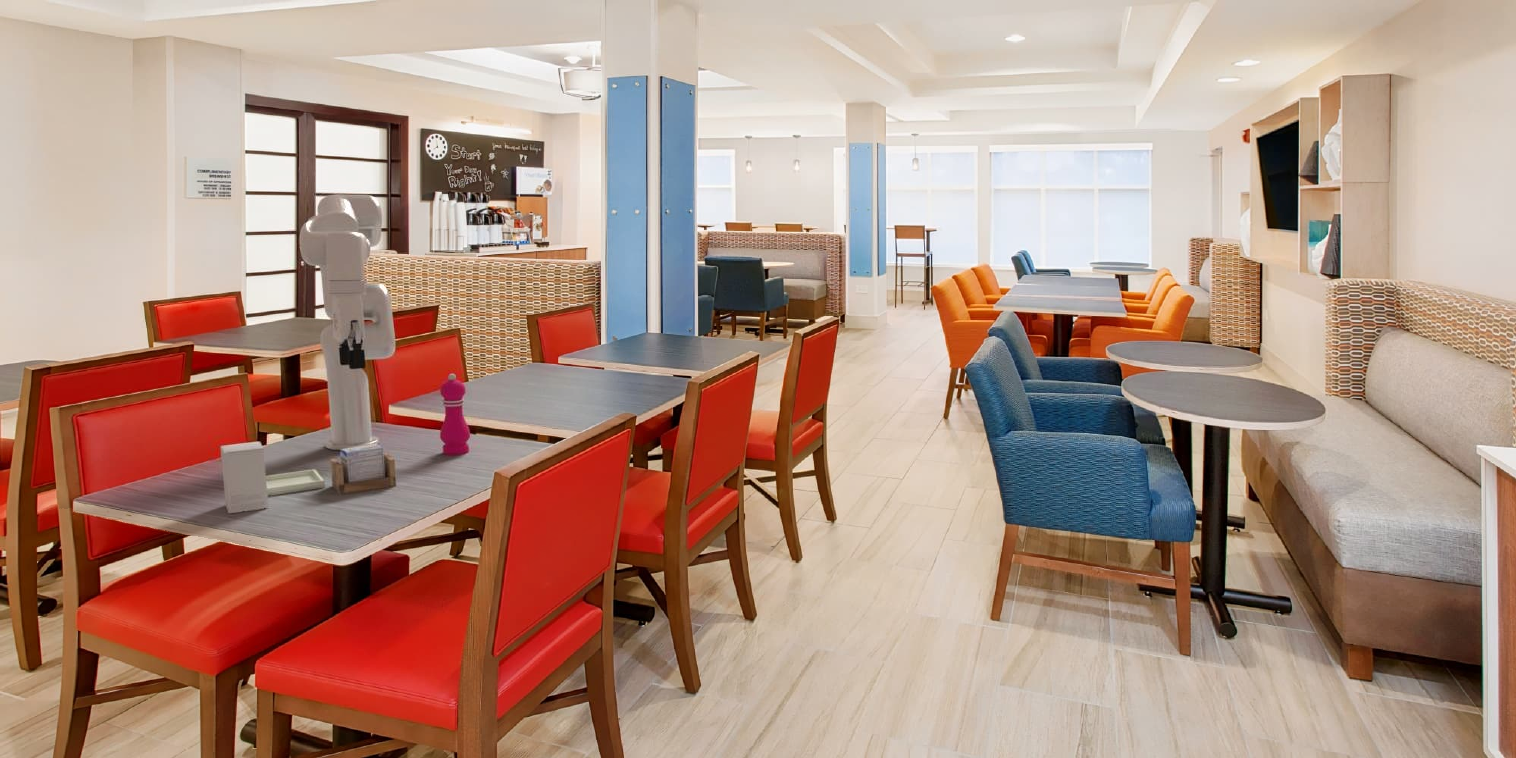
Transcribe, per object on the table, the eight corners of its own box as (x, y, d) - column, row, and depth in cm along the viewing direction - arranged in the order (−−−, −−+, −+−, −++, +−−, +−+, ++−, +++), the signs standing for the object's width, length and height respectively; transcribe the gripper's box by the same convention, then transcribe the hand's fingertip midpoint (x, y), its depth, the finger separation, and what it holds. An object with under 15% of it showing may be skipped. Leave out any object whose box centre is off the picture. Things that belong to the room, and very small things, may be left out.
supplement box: (269, 508, 190) (264, 447, 188) (227, 514, 186) (221, 452, 184) (265, 499, 196) (260, 440, 194) (225, 504, 193) (219, 445, 190)
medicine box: (378, 480, 211) (375, 443, 209) (386, 484, 207) (383, 446, 206) (342, 487, 205) (339, 448, 204) (349, 491, 202) (346, 452, 201)
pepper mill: (461, 456, 232) (457, 376, 229) (435, 454, 234) (430, 375, 230) (476, 449, 239) (472, 372, 236) (450, 447, 241) (446, 370, 237)
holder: (332, 485, 206) (330, 459, 205) (387, 477, 213) (385, 452, 212) (339, 494, 200) (337, 466, 199) (396, 485, 207) (394, 459, 206)
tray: (260, 483, 208) (259, 476, 208) (315, 475, 214) (314, 469, 214) (267, 495, 199) (267, 488, 198) (324, 487, 205) (324, 480, 205)
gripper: (321, 288, 209) (326, 364, 212) (336, 290, 195) (342, 371, 198) (356, 287, 214) (362, 362, 216) (374, 289, 200) (379, 368, 202)
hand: (352, 366), depth 207 cm, fingers open, 9 cm apart
